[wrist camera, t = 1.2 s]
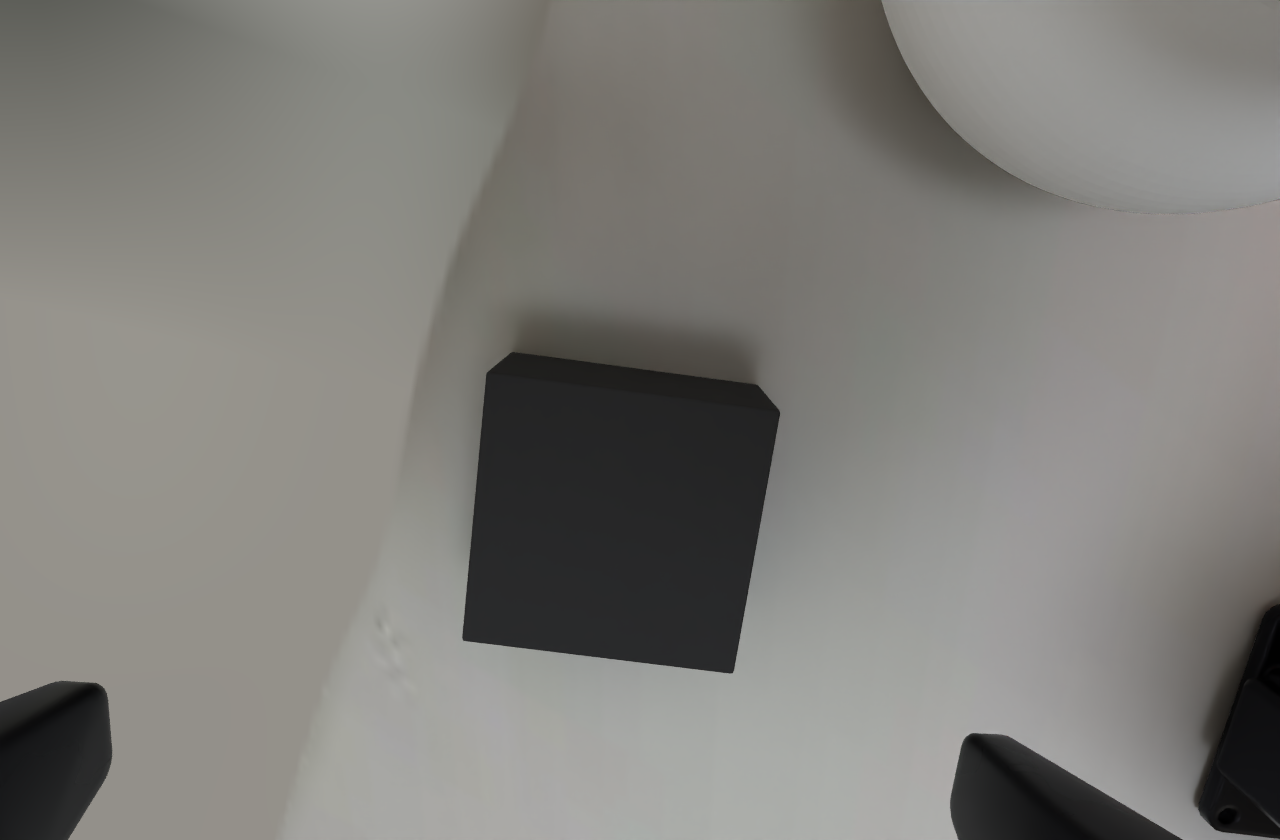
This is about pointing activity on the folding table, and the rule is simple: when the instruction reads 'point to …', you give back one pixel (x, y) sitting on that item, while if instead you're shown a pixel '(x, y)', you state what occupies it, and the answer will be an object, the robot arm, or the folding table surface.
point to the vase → (1109, 94)
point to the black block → (616, 511)
